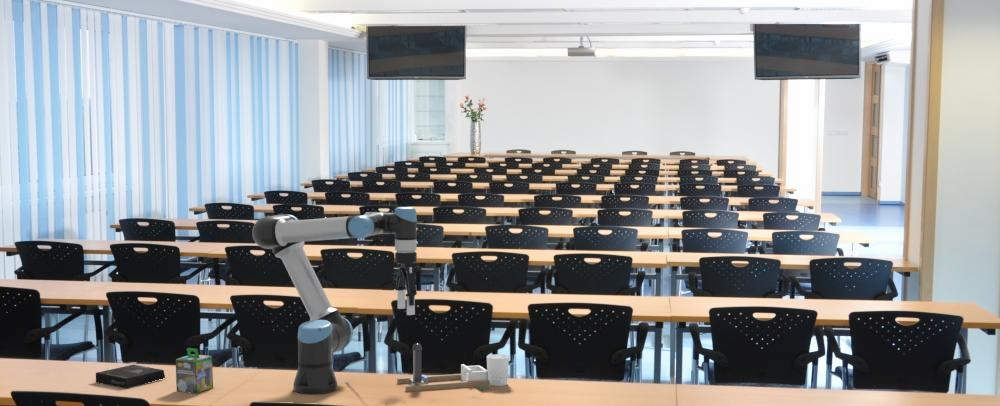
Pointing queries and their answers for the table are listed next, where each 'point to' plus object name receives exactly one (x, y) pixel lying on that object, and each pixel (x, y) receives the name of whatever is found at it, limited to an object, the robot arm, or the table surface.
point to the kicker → (417, 367)
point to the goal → (474, 372)
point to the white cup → (497, 369)
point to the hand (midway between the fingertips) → (406, 311)
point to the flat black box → (129, 376)
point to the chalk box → (194, 372)
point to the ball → (465, 377)
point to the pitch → (476, 384)
